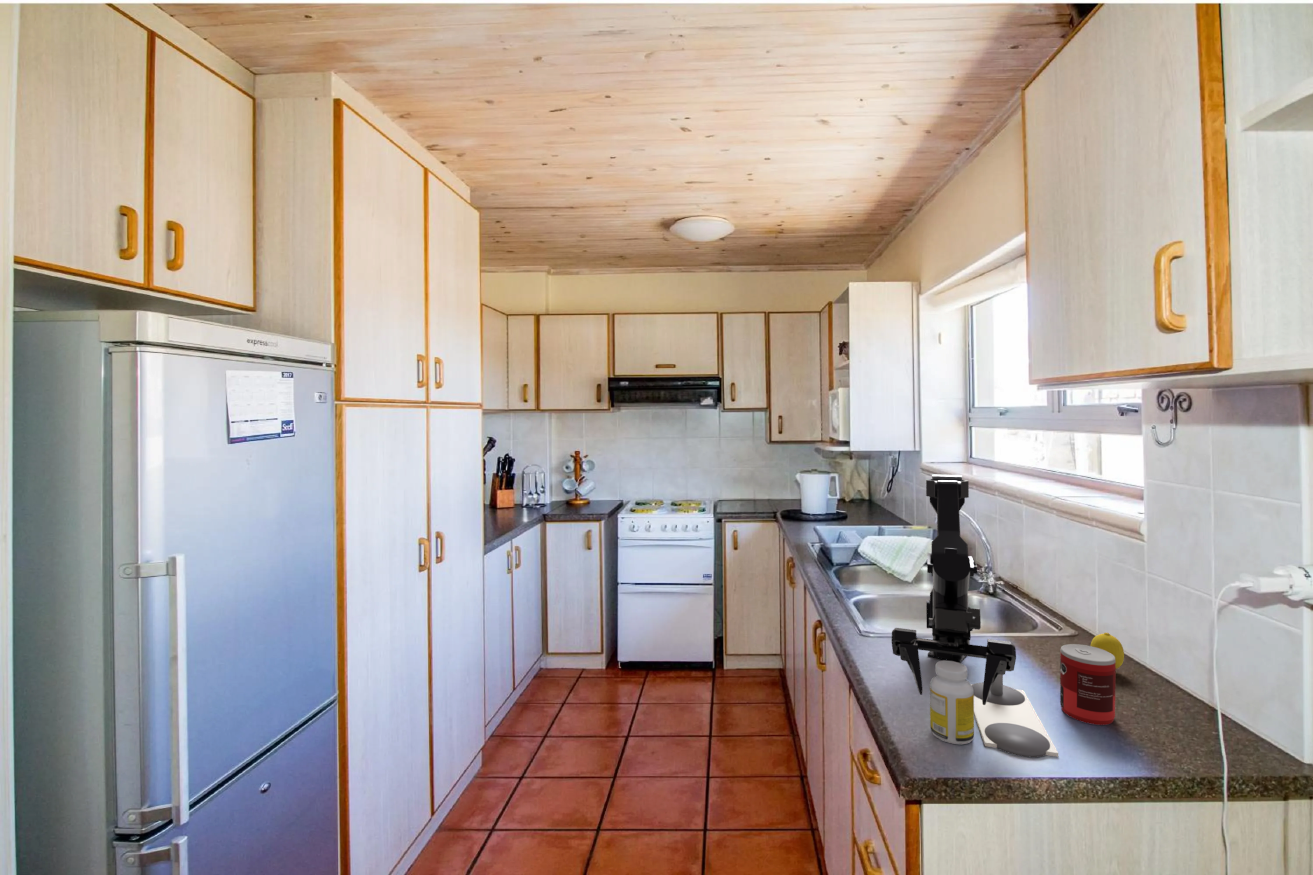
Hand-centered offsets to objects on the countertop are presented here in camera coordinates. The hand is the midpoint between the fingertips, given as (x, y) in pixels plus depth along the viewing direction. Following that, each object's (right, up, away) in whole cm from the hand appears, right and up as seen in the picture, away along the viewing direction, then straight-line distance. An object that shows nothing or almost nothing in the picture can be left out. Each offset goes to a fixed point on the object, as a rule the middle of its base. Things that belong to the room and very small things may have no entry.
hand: (951, 698), depth 97 cm
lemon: (+43, -5, +24) cm, 50 cm away
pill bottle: (+1, -7, +1) cm, 7 cm away
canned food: (+27, -6, +7) cm, 29 cm away
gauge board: (+13, -6, +7) cm, 16 cm away
